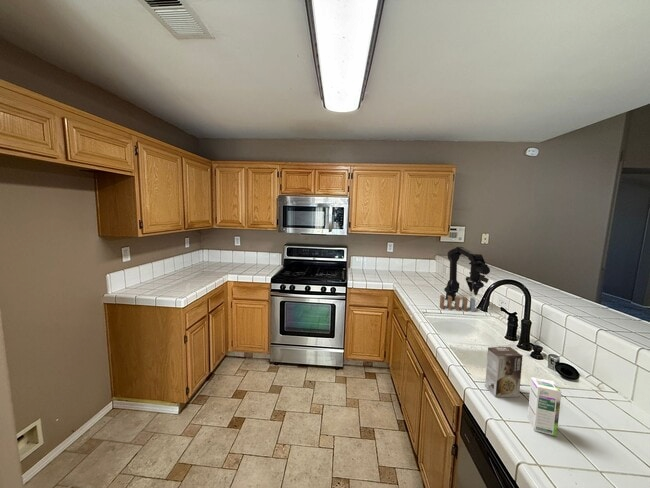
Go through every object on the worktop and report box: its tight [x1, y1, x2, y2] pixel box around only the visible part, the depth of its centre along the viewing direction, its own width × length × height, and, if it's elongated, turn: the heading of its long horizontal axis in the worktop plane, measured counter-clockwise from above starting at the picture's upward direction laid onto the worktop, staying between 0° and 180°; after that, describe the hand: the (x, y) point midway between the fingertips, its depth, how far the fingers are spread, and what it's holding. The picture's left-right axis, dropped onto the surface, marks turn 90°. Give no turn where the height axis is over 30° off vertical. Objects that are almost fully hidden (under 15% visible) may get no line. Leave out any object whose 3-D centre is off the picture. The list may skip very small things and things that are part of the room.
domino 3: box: [453, 295, 461, 312], centre depth 187 cm, size 2×5×9 cm, turn 168°
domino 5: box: [469, 297, 476, 313], centre depth 185 cm, size 2×5×9 cm, turn 167°
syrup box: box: [527, 376, 562, 437], centre depth 81 cm, size 6×6×14 cm
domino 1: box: [439, 294, 446, 310], centre depth 189 cm, size 2×5×9 cm, turn 168°
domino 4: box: [461, 296, 469, 312], centre depth 186 cm, size 2×5×9 cm, turn 168°
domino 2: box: [446, 296, 453, 311], centre depth 188 cm, size 2×5×9 cm, turn 167°
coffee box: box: [484, 346, 523, 398], centre depth 98 cm, size 9×6×16 cm
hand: (473, 293), depth 184 cm, fingers open, 9 cm apart
